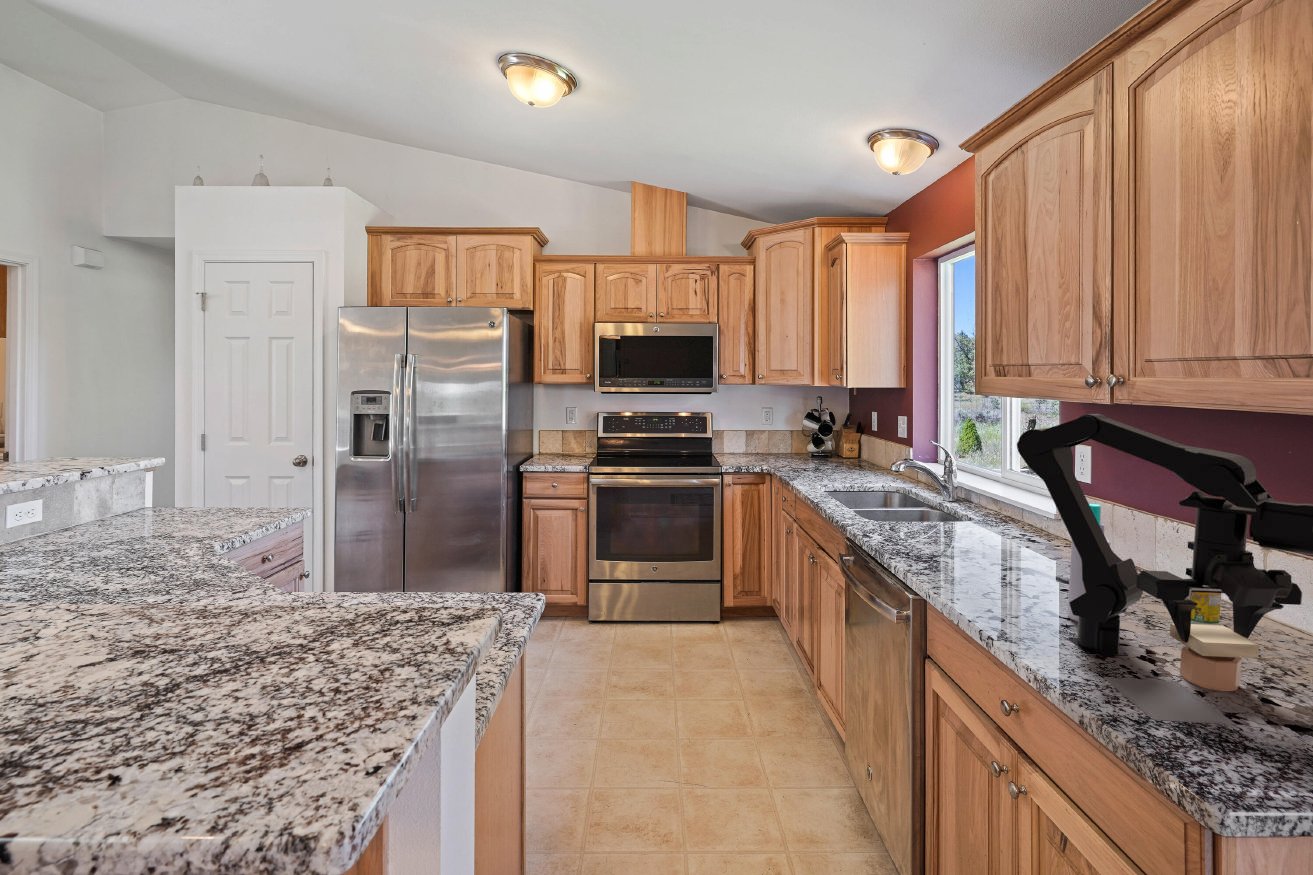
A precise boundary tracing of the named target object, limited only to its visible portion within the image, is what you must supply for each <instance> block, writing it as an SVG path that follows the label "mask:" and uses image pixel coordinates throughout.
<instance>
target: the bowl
mask: <svg viewBox="0 0 1313 875" xmlns="http://www.w3.org/2000/svg"><path fill="white" fill-rule="evenodd" d="M1180 650H1181V651H1180V665H1179V674H1180V675H1181V677H1182V679H1184V680H1186V681H1187V682H1189V683H1191V684H1193V685H1196V686H1198V687H1201V688H1205V689H1209V690H1212V691H1213V690H1214V691H1220V692H1234V691H1237V690H1238V688H1239V686H1240V685H1241V674H1242V663H1243V662H1242V661H1243V658H1240V657H1220V656H1202V655H1200V654H1199V653H1197V652H1195V651H1194V650H1192V649H1191V648H1189V647H1187V646H1186V645H1184V646H1183V647H1182V648H1181V649H1180Z"/></svg>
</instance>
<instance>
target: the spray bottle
mask: <svg viewBox="0 0 1313 875" xmlns="http://www.w3.org/2000/svg"><path fill="white" fill-rule="evenodd" d="M1089 505H1090V507H1091V509H1092V511H1093V513H1094V515H1095V517H1096V520H1097V522H1098V524H1099V526H1100V528H1101V530H1102V532H1103V534H1104V535H1105V524H1104V523H1101V513H1102V512H1101V511H1102V510H1101V508H1102V506H1101V504H1096V503H1089ZM1106 540H1107V542H1108V544H1109V546H1110V547H1111V541H1109V539H1106ZM1069 559H1070V560H1069V562H1070V563H1069V577H1068V580H1069V581H1068V595H1067V597H1068V599H1067V616H1068V618H1070V619H1071V620H1073V621H1074V622H1077V623H1078V619H1079V616H1076V615H1073V613H1072V610H1071V607H1070V604H1069V603H1070V602H1071V601H1072V600H1074V599H1076V598H1077V597H1079V596H1081V595H1083V594H1084V593H1086V591H1085V588H1084V584H1083V581H1082V561H1081V558H1080V556H1079V553H1078V551H1077V549H1076V547H1075V545H1074V543H1073V541H1072V539H1071V544H1070V558H1069Z"/></svg>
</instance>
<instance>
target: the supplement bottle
mask: <svg viewBox="0 0 1313 875" xmlns="http://www.w3.org/2000/svg"><path fill="white" fill-rule="evenodd" d="M1188 577H1189V578H1188V579H1191V577H1190V576H1188ZM1203 586H1206V585H1203ZM1206 587H1209V586H1206ZM1190 600H1192V601H1194V602H1196V603H1198V604H1197V606H1196V607H1195V608H1194V609H1193V610H1192V612H1191V624H1202V625H1220V620H1221V602H1222V593H1202V592H1191V598H1190Z"/></svg>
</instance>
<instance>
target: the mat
mask: <svg viewBox="0 0 1313 875" xmlns="http://www.w3.org/2000/svg"><path fill="white" fill-rule="evenodd" d="M1103 679H1104V680H1105V681H1106V682H1108V684H1110V685H1111V686H1113V688H1114V689H1116V690H1117V691H1118V692H1120V693H1121V694H1122V695H1123V696H1125V697H1126V699H1128V700H1129V701H1130V703H1132V704H1133V705H1135V706H1136V707H1137V708H1138V709H1139V710H1140V711H1142V712H1143V713H1144V714H1146V716H1148V717H1149V719H1151V720H1153V721H1164V722H1179V723H1180V722H1182V723H1193V724H1194V723H1196V724H1197V723H1198V724H1210V725H1211V724H1212V725H1213V724H1214V725H1215V724H1216V725H1228V726H1229V725H1231V726H1237V724H1236V723H1235V722H1233V721H1232V720H1231V719H1230V718H1228V717H1227V716H1225V715H1224V714H1223V713H1221V712H1220V711H1219V710H1217V709H1216V708H1214V707H1213V706H1211V705H1210V704H1209V703H1208V702H1206V701H1204V699H1201V697H1199V696H1197V695H1196V694H1194V693H1193V692H1192V691H1191V690H1189V689H1188V688H1187V687H1185V686H1184V685H1182V684H1181V683H1179V682H1178V681H1174V680H1170V681H1169V680H1156V679H1155V680H1153V679H1152V680H1151V679H1137V678H1136V679H1135V678H1132V679H1131V678H1117V677H1116V678H1115V677H1103Z"/></svg>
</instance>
